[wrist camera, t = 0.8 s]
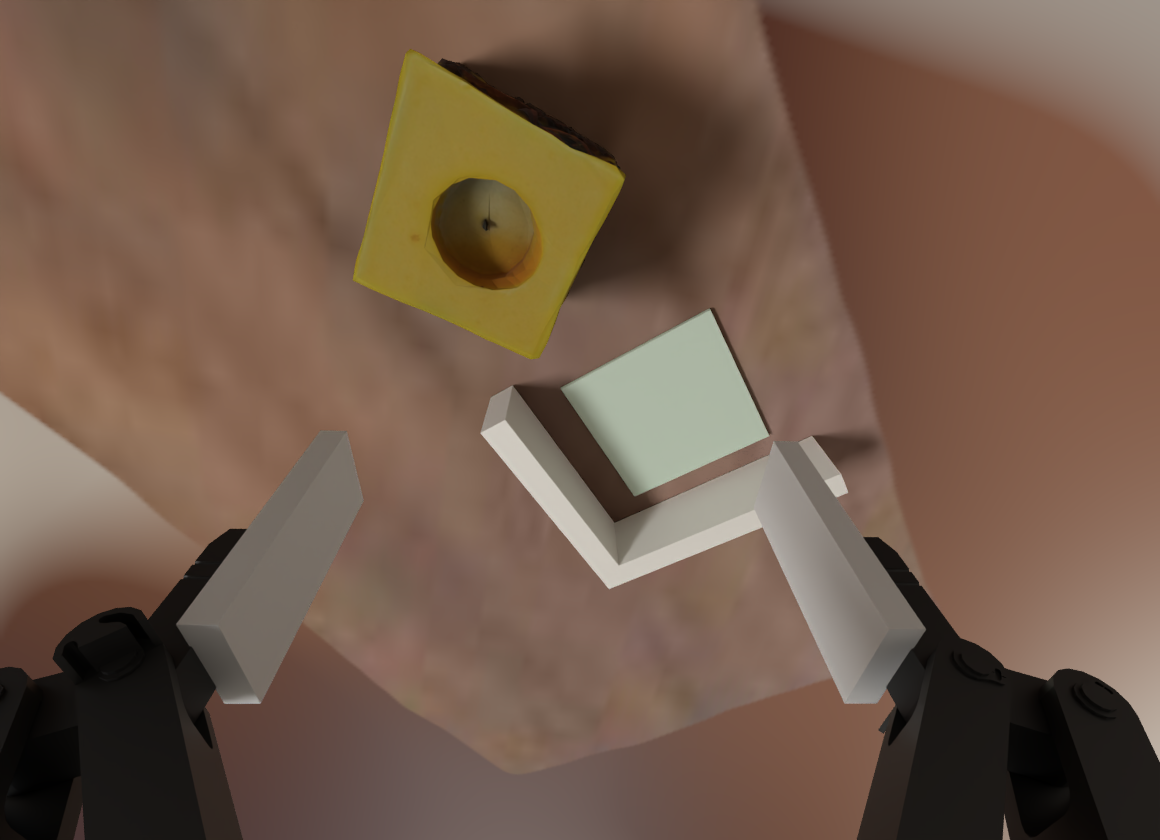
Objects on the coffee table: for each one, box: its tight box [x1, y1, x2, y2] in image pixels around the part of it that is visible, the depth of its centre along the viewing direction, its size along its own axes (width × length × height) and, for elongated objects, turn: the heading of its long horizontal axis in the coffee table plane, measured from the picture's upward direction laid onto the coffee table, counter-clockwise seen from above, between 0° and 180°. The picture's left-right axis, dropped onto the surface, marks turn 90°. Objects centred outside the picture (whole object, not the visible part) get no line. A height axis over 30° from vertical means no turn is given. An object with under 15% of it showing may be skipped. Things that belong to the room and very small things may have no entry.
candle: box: [353, 49, 626, 359], centre depth 27 cm, size 10×10×10 cm
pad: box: [561, 308, 769, 497], centre depth 39 cm, size 12×12×1 cm
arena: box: [481, 385, 848, 589], centre depth 37 cm, size 18×20×5 cm
